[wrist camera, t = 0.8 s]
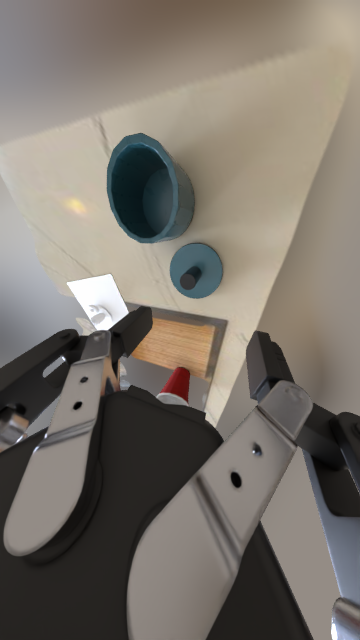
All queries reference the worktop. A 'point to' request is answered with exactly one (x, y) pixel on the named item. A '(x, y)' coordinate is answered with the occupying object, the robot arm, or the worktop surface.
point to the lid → (196, 270)
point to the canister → (148, 190)
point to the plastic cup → (176, 388)
